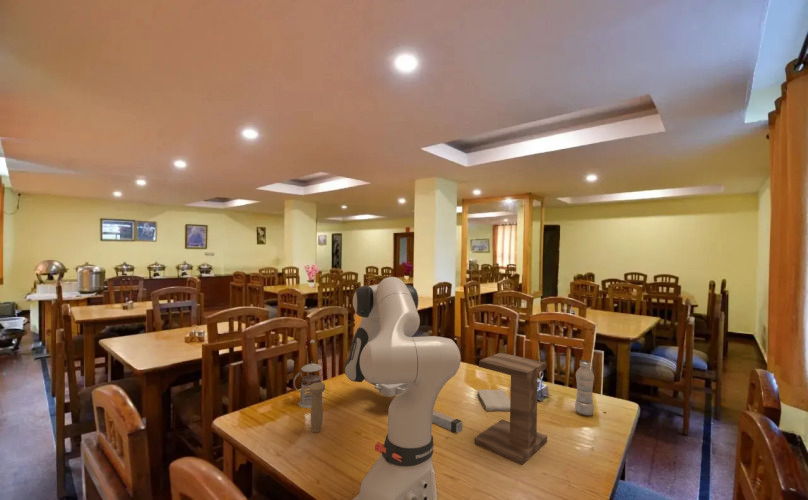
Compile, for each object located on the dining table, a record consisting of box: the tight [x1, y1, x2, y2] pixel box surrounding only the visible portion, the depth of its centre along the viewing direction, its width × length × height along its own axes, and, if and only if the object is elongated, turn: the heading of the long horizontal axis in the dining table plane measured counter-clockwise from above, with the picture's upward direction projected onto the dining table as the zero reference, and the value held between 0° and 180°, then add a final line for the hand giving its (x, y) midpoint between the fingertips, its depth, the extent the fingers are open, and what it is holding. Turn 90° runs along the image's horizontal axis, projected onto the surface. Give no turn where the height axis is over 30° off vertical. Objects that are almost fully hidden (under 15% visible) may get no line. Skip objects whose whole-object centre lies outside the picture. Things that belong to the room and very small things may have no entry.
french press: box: [293, 339, 324, 409], centre depth 141 cm, size 10×12×25 cm
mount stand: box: [473, 352, 548, 466], centre depth 114 cm, size 18×16×26 cm
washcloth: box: [477, 388, 510, 412], centre depth 146 cm, size 12×18×3 cm, turn 1°
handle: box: [308, 382, 326, 434], centre depth 120 cm, size 5×6×15 cm
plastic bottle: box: [574, 359, 595, 416], centre depth 137 cm, size 6×7×20 cm
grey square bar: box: [432, 409, 463, 434], centre depth 128 cm, size 3×22×3 cm, turn 46°
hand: (417, 389), depth 135 cm, fingers open, 8 cm apart
